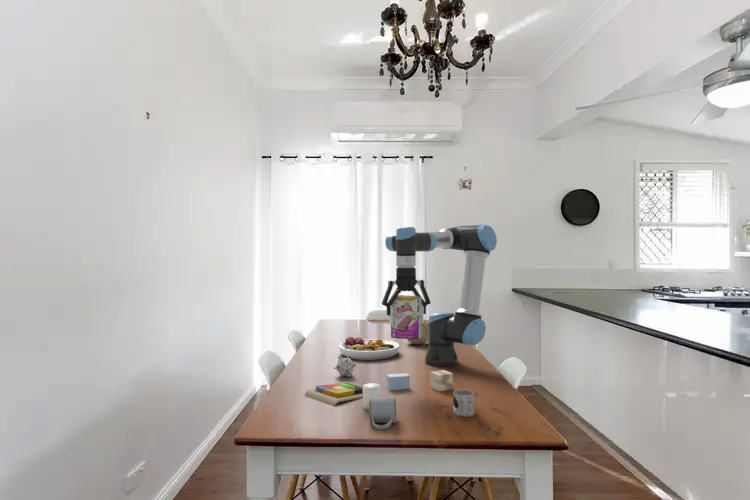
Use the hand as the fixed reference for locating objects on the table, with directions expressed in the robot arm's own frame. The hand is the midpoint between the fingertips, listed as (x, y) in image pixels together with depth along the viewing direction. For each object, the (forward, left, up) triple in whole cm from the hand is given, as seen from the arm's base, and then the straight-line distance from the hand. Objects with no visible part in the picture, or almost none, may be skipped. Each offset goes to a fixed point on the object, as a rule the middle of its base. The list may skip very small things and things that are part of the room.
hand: (406, 323), depth 185 cm
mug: (-9, +35, -24) cm, 44 cm away
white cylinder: (+18, +21, -24) cm, 37 cm away
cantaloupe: (-28, -75, -24) cm, 84 cm away
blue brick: (+4, +2, -24) cm, 25 cm away
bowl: (+3, -57, -25) cm, 62 cm away
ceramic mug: (+18, +36, -24) cm, 47 cm away
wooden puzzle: (+27, +5, -25) cm, 37 cm away
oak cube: (-12, +6, -24) cm, 28 cm away
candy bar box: (0, 0, -6) cm, 6 cm away
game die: (+21, -19, -24) cm, 37 cm away
